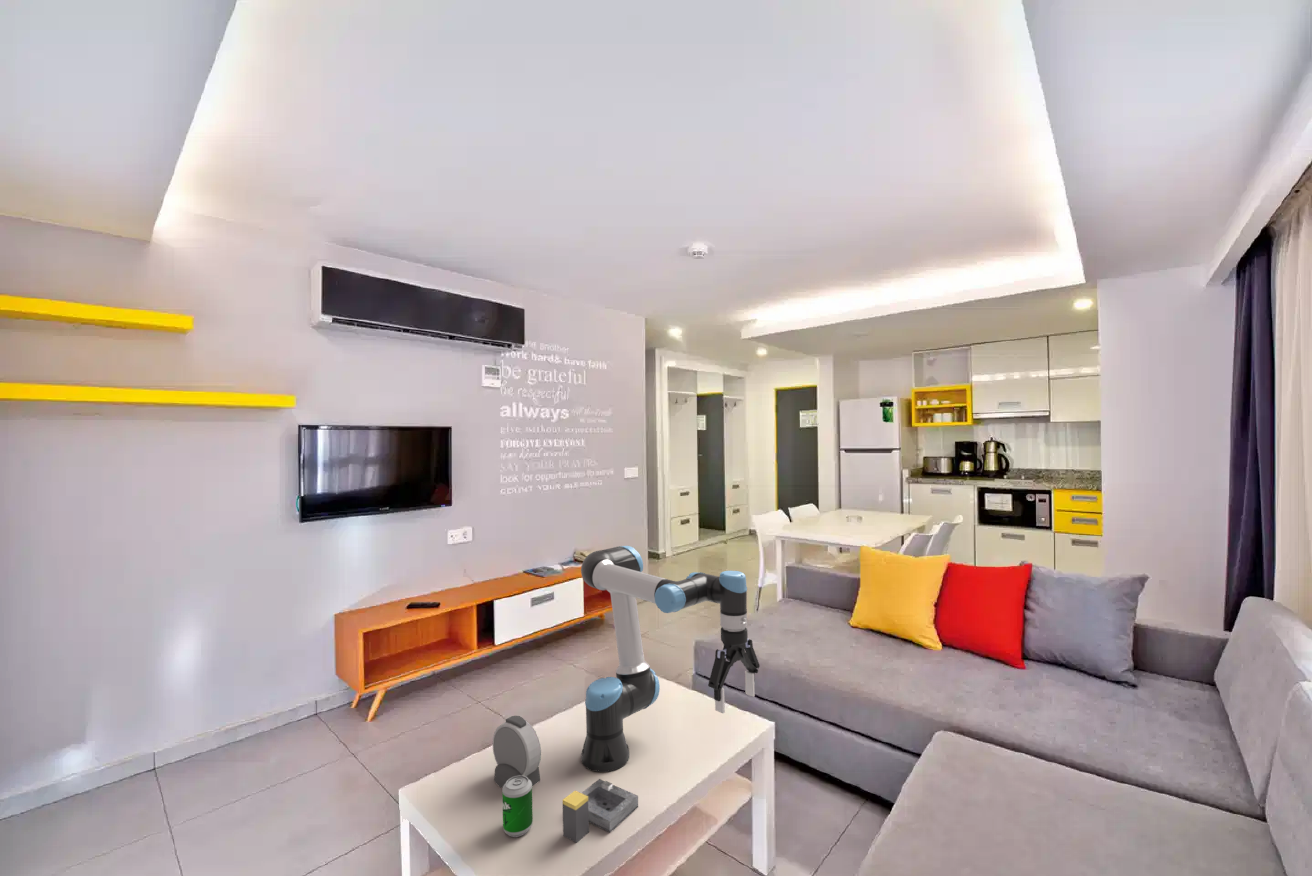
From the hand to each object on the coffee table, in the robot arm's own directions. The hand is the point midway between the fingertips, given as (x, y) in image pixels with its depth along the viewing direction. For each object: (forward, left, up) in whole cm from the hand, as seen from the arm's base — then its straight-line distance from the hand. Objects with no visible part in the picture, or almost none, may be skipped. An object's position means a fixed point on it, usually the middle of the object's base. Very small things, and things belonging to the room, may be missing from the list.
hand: (735, 703), depth 152 cm
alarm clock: (-58, -30, -26) cm, 70 cm away
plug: (-28, -37, -26) cm, 52 cm away
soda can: (-41, -44, -26) cm, 65 cm away
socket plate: (-28, -26, -26) cm, 45 cm away
